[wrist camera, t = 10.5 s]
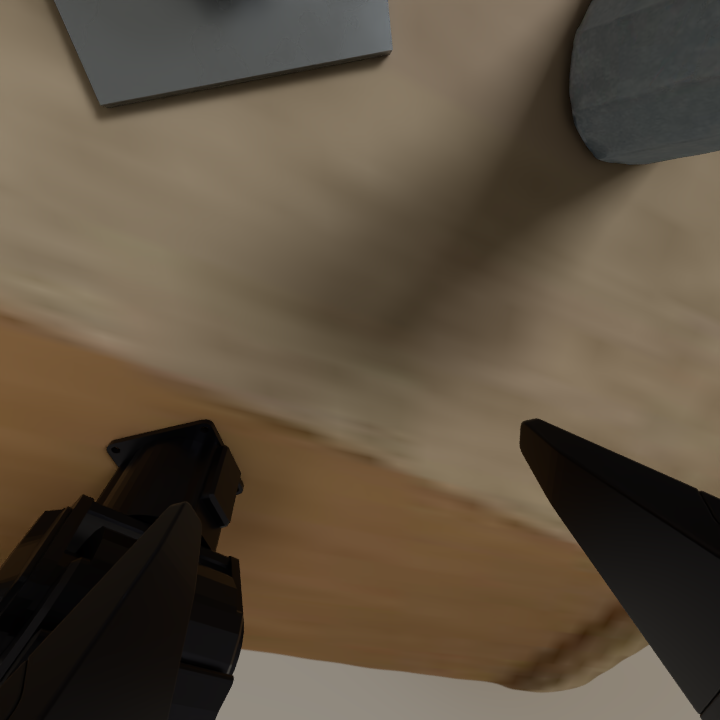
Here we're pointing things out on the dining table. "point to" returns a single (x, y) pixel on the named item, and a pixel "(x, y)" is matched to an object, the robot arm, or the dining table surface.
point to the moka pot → (647, 79)
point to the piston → (215, 41)
